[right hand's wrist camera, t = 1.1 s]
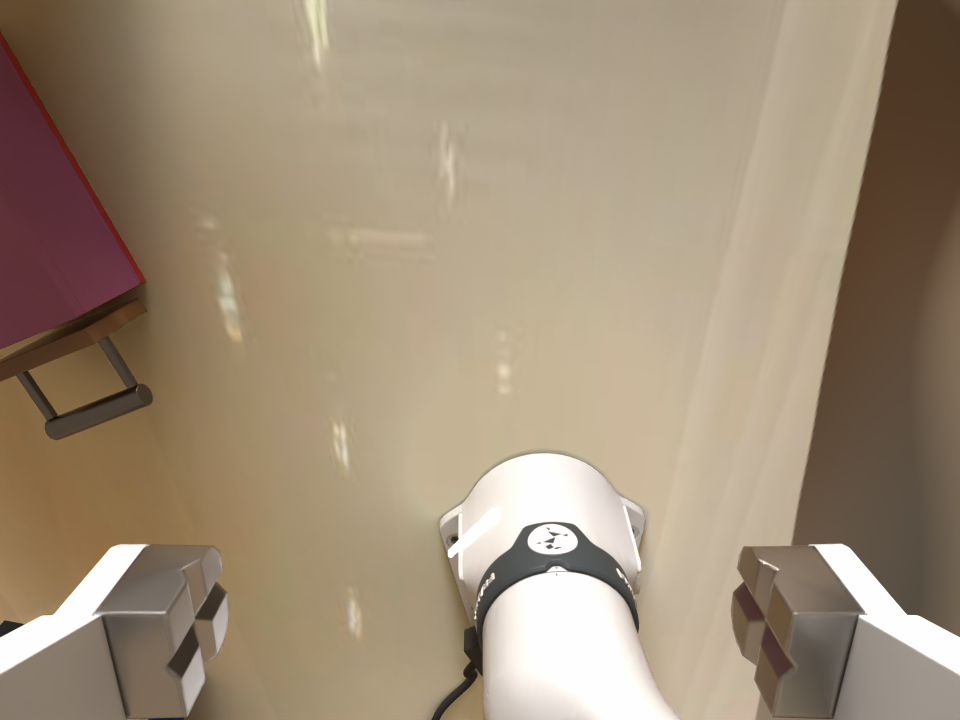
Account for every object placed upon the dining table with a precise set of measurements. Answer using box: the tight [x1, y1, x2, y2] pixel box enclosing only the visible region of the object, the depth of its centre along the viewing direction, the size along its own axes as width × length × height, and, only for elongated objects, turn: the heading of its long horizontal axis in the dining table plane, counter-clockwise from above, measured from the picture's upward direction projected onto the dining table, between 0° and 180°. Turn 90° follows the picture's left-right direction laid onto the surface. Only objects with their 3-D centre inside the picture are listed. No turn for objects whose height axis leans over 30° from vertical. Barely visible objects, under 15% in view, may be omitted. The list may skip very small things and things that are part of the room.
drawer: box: [0, 298, 153, 440], centre depth 49 cm, size 25×9×8 cm, turn 21°
